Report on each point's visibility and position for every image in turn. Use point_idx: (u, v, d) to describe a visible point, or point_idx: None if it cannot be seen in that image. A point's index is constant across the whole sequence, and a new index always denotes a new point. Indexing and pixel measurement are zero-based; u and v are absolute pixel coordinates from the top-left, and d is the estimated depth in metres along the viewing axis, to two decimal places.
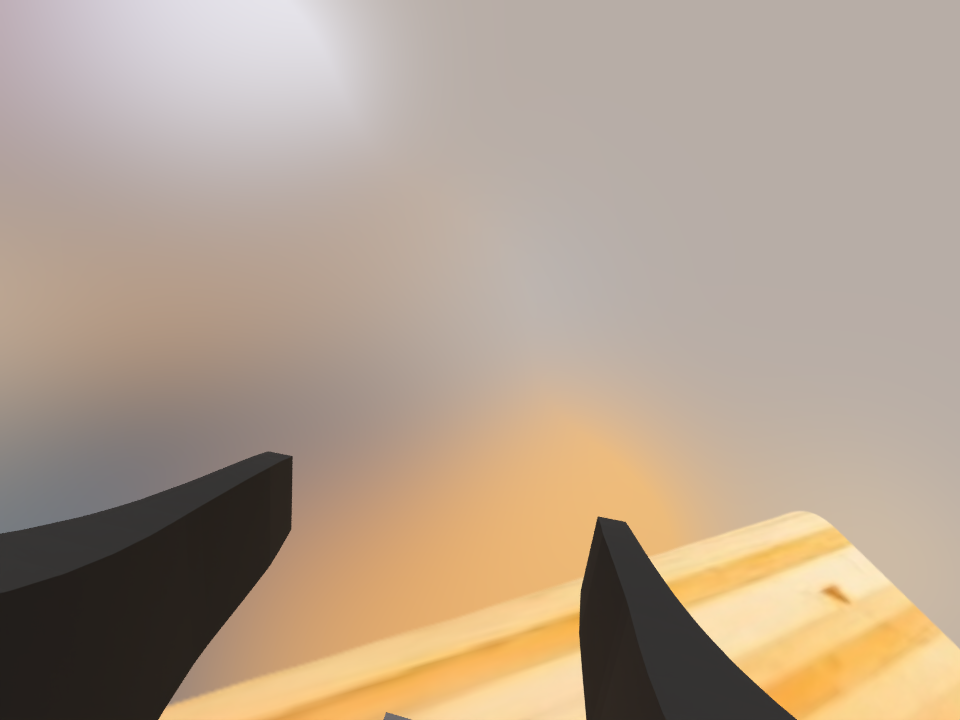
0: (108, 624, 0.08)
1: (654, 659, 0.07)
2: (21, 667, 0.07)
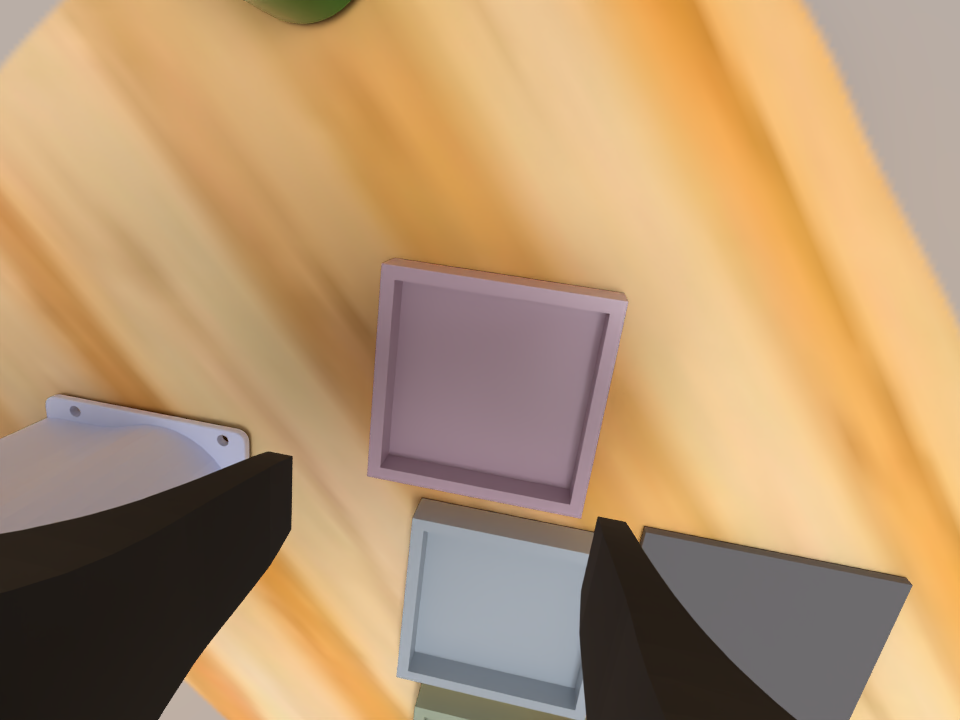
0: (108, 623, 0.08)
1: (654, 659, 0.07)
2: (21, 667, 0.07)
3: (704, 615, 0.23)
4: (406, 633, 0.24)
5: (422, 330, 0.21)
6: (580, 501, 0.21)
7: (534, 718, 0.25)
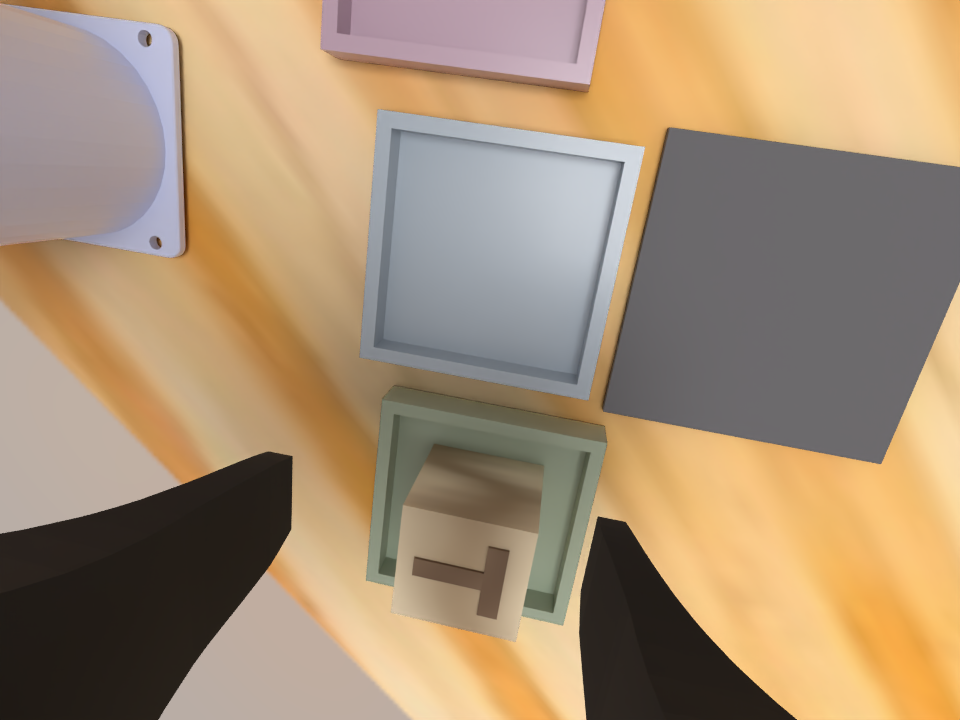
0: (107, 624, 0.08)
1: (654, 659, 0.07)
2: (21, 667, 0.07)
3: (739, 248, 0.18)
4: (370, 291, 0.20)
5: None
6: (589, 56, 0.16)
7: (527, 418, 0.21)
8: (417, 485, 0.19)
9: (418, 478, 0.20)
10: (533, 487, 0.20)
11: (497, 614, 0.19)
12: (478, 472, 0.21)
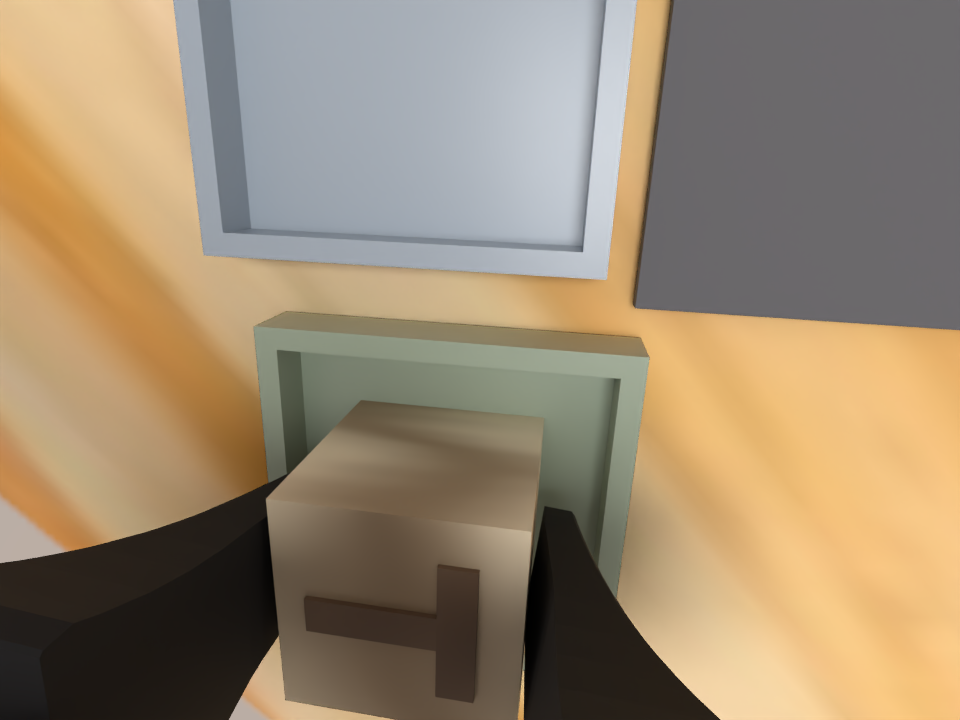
0: (183, 641, 0.08)
1: (566, 640, 0.07)
2: (109, 689, 0.06)
3: None
4: (198, 126, 0.11)
5: None
6: None
7: (504, 335, 0.12)
8: (308, 463, 0.11)
9: (315, 452, 0.11)
10: (523, 450, 0.11)
11: (474, 692, 0.10)
12: (427, 435, 0.12)
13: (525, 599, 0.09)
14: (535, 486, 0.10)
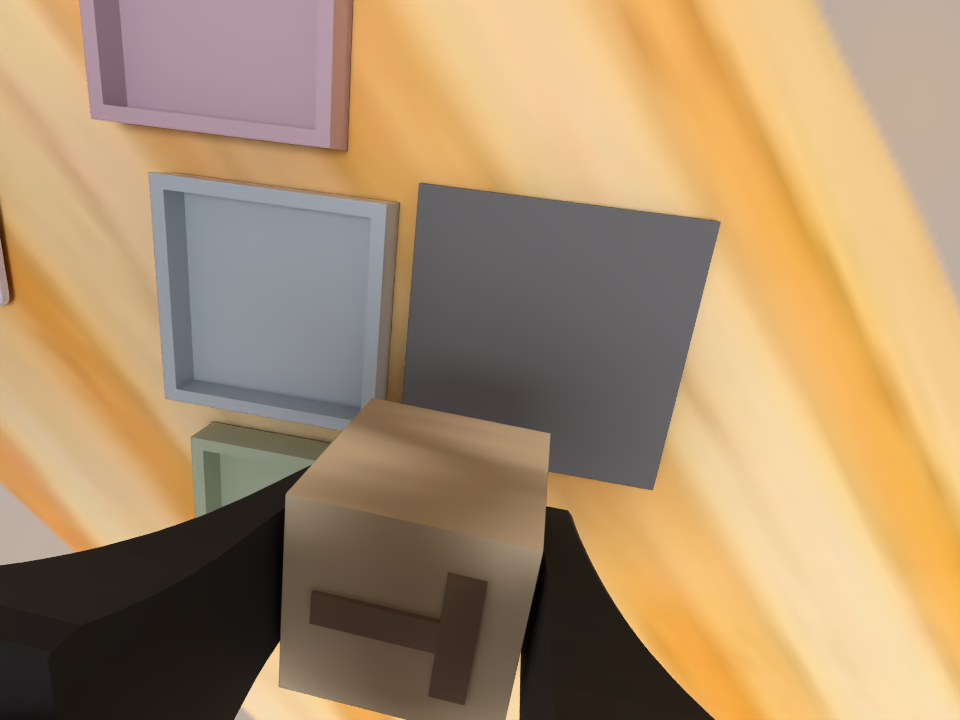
0: (188, 643, 0.08)
1: (561, 638, 0.07)
2: (116, 691, 0.06)
3: (496, 292, 0.20)
4: (166, 337, 0.21)
5: None
6: (325, 123, 0.18)
7: None
8: (324, 460, 0.11)
9: (330, 448, 0.11)
10: (532, 466, 0.12)
11: (466, 695, 0.10)
12: (439, 441, 0.12)
13: (528, 613, 0.10)
14: (544, 504, 0.10)
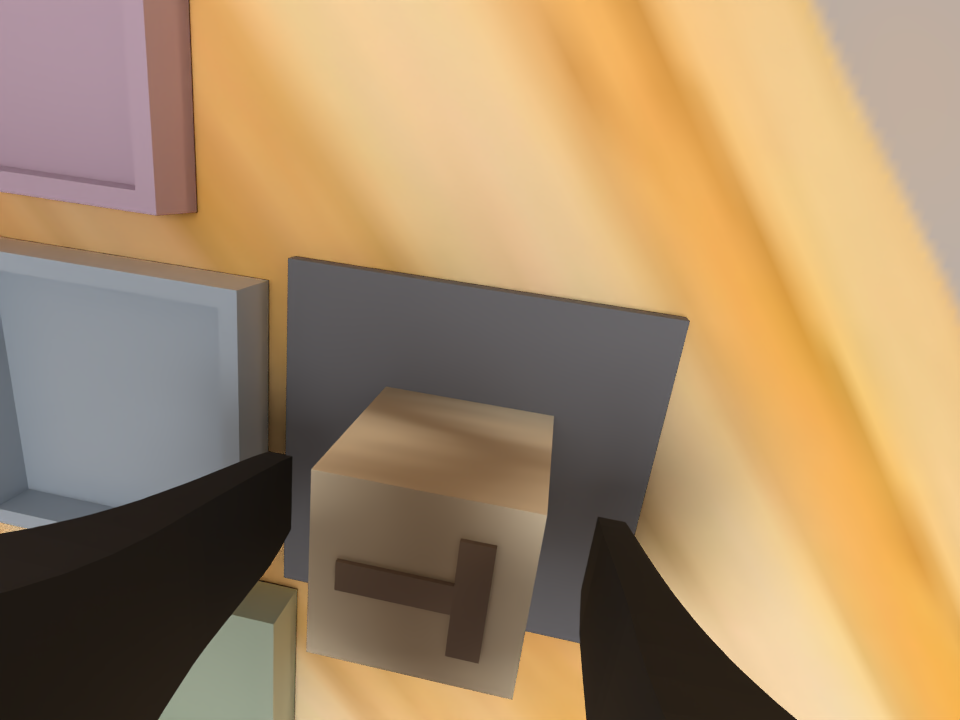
0: (107, 624, 0.08)
1: (654, 659, 0.07)
2: (21, 667, 0.07)
3: None
4: None
5: None
6: (148, 182, 0.13)
7: None
8: (345, 440, 0.12)
9: (349, 431, 0.12)
10: (536, 443, 0.13)
11: (480, 654, 0.11)
12: (450, 423, 0.13)
13: (535, 574, 0.10)
14: (548, 476, 0.11)
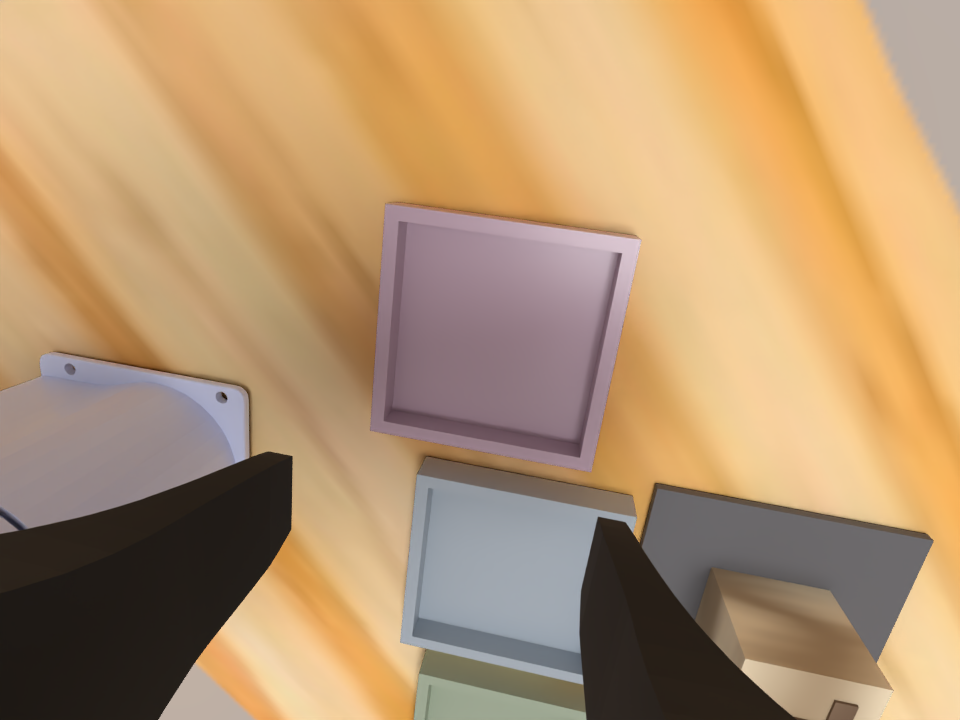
0: (108, 623, 0.08)
1: (654, 659, 0.07)
2: (22, 667, 0.07)
3: None
4: (410, 597, 0.23)
5: (427, 278, 0.20)
6: (590, 454, 0.20)
7: (541, 685, 0.25)
8: (738, 629, 0.19)
9: (733, 619, 0.19)
10: (841, 622, 0.20)
11: None
12: (779, 605, 0.20)
13: None
14: (870, 654, 0.19)
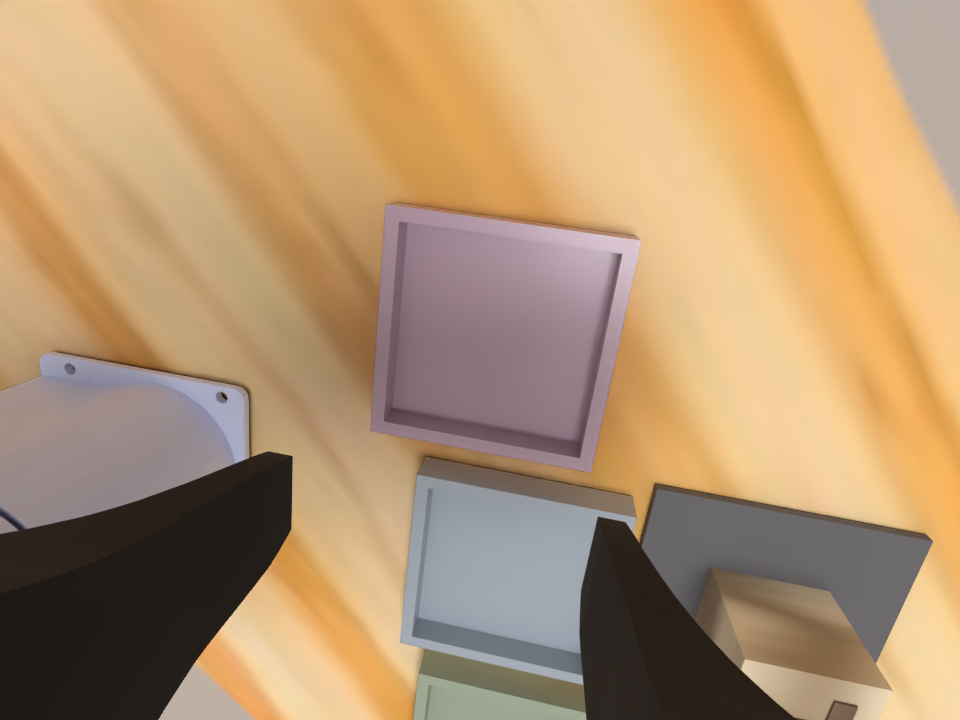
0: (108, 623, 0.08)
1: (654, 659, 0.07)
2: (21, 667, 0.07)
3: None
4: (409, 597, 0.23)
5: (427, 278, 0.20)
6: (590, 454, 0.20)
7: (541, 686, 0.25)
8: (738, 629, 0.19)
9: (732, 619, 0.19)
10: (840, 622, 0.20)
11: None
12: (778, 605, 0.20)
13: None
14: (869, 655, 0.19)
